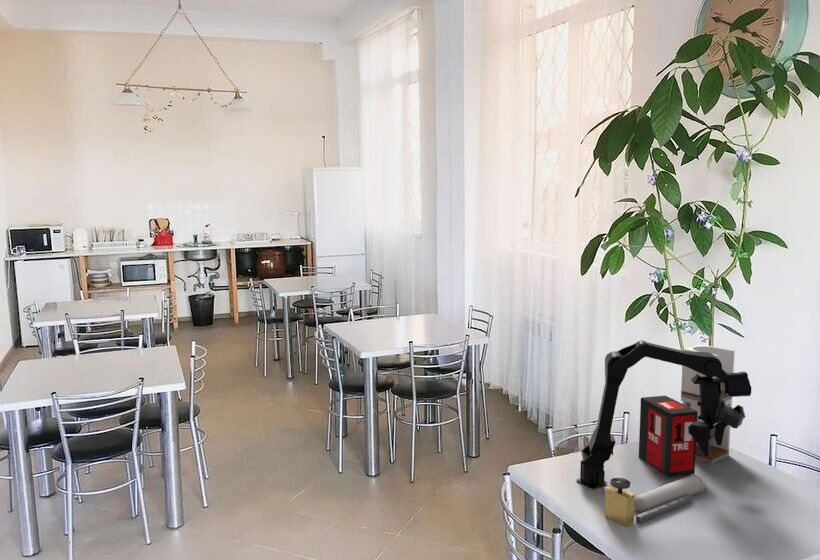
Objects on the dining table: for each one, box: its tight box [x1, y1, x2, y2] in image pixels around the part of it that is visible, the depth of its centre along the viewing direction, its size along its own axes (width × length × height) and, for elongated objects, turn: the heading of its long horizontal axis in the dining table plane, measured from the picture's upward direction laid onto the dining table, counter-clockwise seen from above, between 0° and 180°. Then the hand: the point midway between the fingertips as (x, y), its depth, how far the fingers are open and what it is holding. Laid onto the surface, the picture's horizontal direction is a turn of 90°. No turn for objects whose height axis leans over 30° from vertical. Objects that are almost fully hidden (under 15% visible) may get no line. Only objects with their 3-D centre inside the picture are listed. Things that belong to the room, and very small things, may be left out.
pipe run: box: [604, 477, 693, 527], centre depth 189 cm, size 9×27×11 cm, turn 123°
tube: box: [634, 473, 705, 513], centre depth 194 cm, size 5×5×25 cm
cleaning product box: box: [638, 395, 698, 479], centre depth 218 cm, size 16×9×20 cm, turn 13°
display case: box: [680, 344, 735, 465], centre depth 226 cm, size 11×11×35 cm
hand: (713, 450), depth 200 cm, fingers open, 9 cm apart
